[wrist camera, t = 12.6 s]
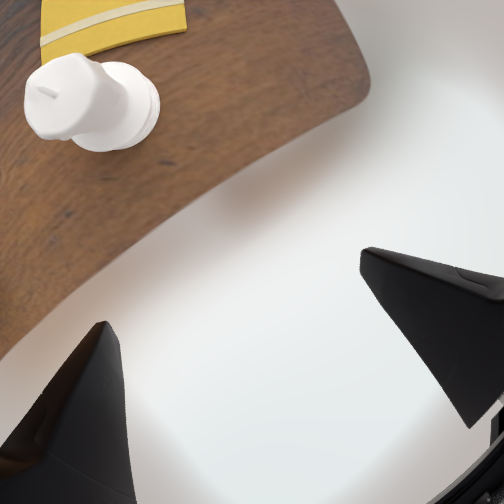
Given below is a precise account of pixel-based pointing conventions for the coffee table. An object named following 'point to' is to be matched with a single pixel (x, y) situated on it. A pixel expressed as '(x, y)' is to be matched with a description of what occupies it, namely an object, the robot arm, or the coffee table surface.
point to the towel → (105, 24)
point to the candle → (91, 103)
